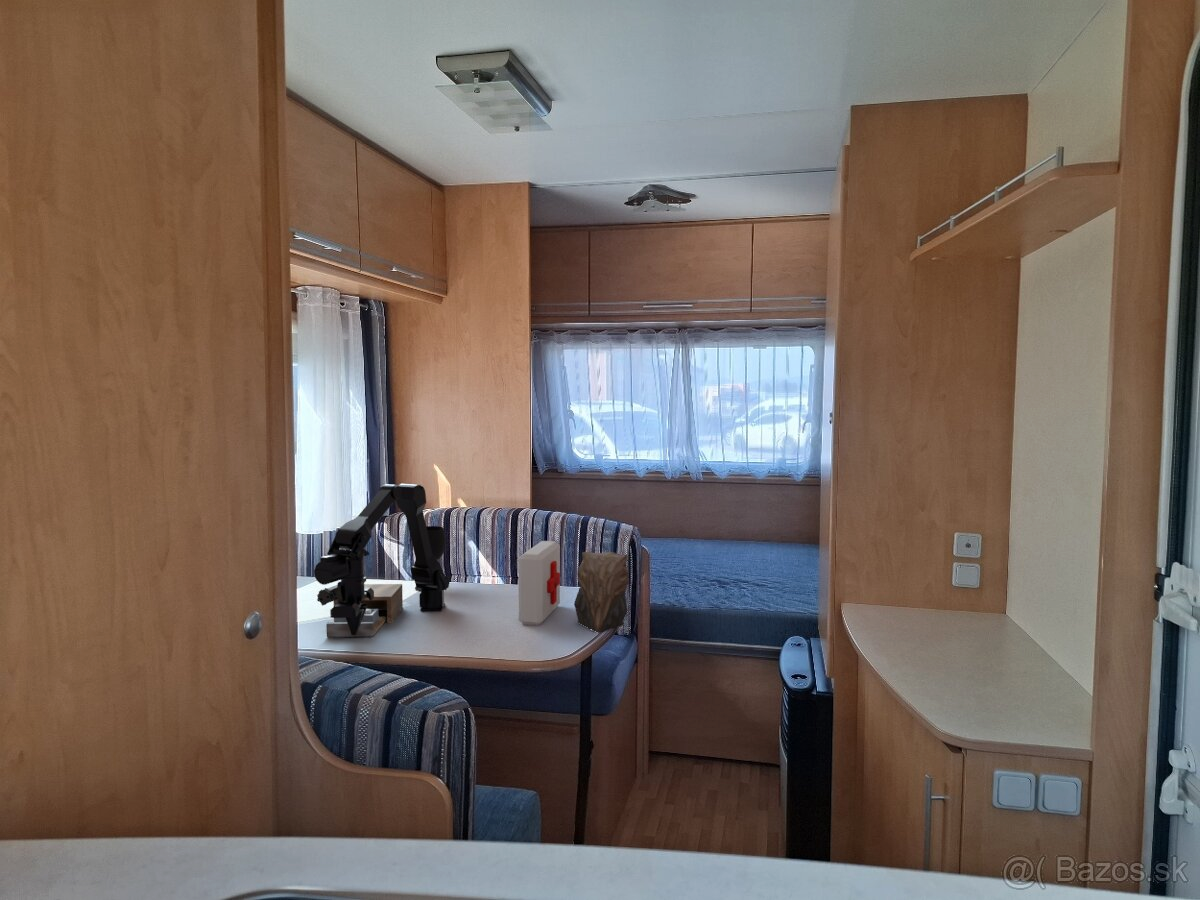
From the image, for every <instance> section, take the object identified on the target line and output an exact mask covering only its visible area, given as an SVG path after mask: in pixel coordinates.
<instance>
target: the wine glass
mask: <svg viewBox="0 0 1200 900" xmlns="http://www.w3.org/2000/svg"><path fill="white" fill-rule="evenodd" d="M426 528H427V532H428V537H429V541H430V546H431V550H432V554H433V556H434V557H435V558H436V559H437V560H438V561H439V559H440V558H442V556H443V555H444V553H445V551H446V549H447V536H446V532H445V529H444V527H443V526H439V525H438V526H437V525H429V526H428V525H426ZM414 589H416V590H415V591H417V590H418V591H417V592H421V589H422V588H416V586H415V587H414Z"/></svg>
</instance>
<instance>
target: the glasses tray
mask: <svg viewBox="0 0 1200 900" xmlns="http://www.w3.org/2000/svg"><path fill="white" fill-rule="evenodd" d="M379 617H380V616H379V610H378V609H366V612H365V614H364V616H363V619H362V621H361V622H374V626H375V625H376V624H377V623H378V621H379ZM335 622H347V620H346V618H335Z"/></svg>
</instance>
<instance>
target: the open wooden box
mask: <svg viewBox="0 0 1200 900" xmlns="http://www.w3.org/2000/svg"><path fill="white" fill-rule="evenodd" d="M364 588H371V589H372V590H374V598H373V599H372V600H369V598H364V599H363V600H362V601H361V602H363V604H368V607H367V609H378V611H386V621H387V624H388V623H389V624H392V623H393V621H394V620H395V619H396V618H397V617H398V615H399V614H400V613H401V612H402V610H403V609H404V608H403V607H404V605H403V604H404V603H403V602H404V601H403V583H373V584H372V583H371V584H370V583H364ZM337 603H344V601H342V602H337V600H335V601H333V607H334V606H335V605H336V604H337ZM333 622H335V618H333Z"/></svg>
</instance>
